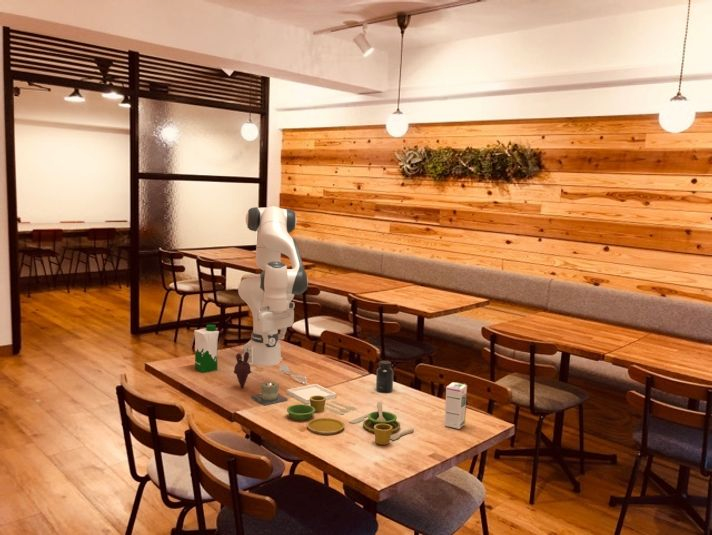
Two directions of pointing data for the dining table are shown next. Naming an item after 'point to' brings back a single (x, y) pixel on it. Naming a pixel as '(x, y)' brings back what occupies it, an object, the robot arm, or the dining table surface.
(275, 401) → the stand
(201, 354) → the milk carton
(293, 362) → the dining table surface
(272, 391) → the napkin ring
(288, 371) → the stirrer
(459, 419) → the syrup box
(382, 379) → the supplement bottle
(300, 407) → the tableware set
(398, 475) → the dining table surface
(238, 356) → the icecream
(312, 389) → the tray
